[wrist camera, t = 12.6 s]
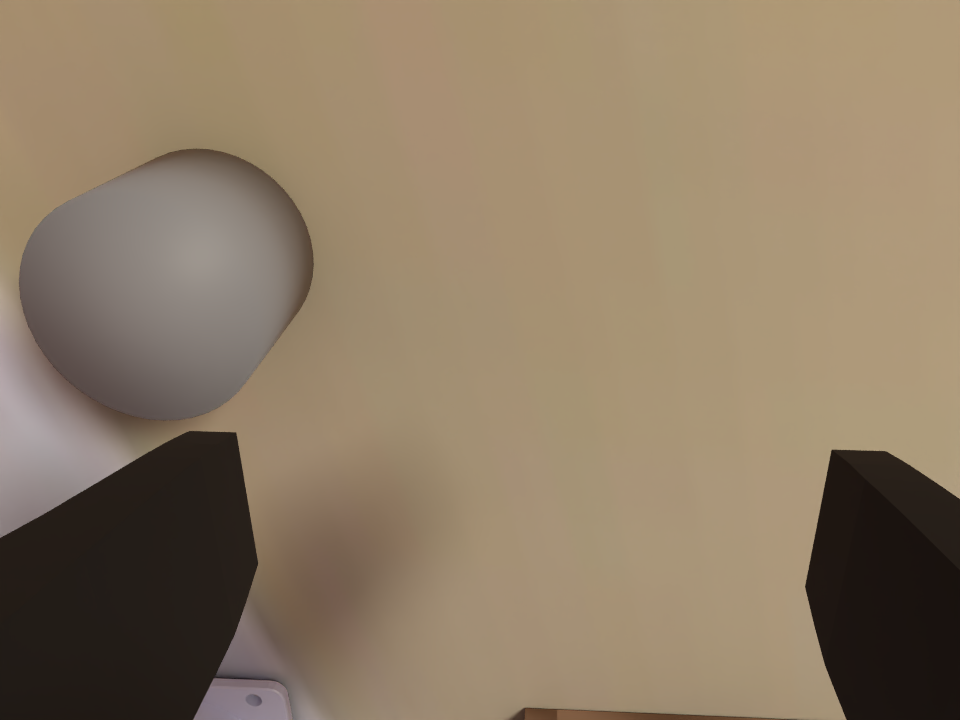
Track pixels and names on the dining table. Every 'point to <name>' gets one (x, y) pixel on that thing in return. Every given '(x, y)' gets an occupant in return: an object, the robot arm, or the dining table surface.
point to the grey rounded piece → (167, 283)
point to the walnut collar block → (615, 716)
